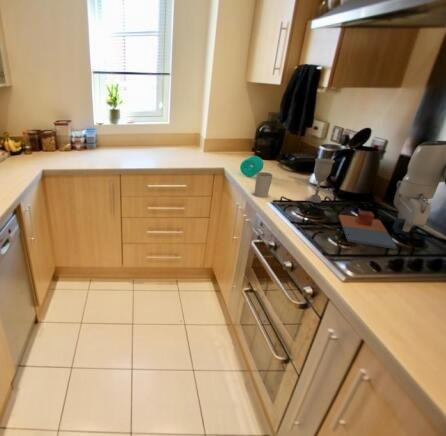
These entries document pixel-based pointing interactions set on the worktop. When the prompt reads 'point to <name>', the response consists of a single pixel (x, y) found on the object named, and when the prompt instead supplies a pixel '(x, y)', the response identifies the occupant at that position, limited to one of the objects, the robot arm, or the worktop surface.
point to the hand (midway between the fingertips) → (402, 227)
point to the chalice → (321, 175)
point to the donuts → (247, 167)
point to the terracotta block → (365, 218)
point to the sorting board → (366, 232)
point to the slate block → (400, 226)
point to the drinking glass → (262, 184)
